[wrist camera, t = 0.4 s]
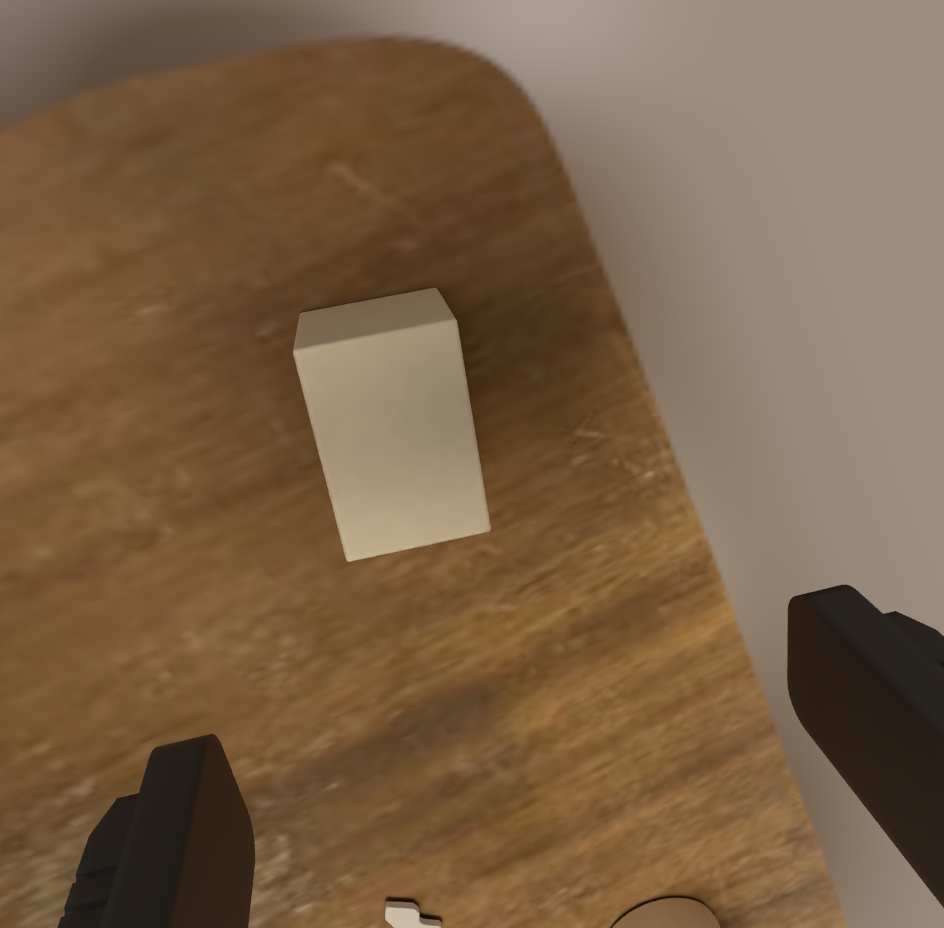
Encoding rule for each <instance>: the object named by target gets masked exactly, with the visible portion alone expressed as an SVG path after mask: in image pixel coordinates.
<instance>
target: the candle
mask: <svg viewBox="0 0 944 928" xmlns="http://www.w3.org/2000/svg"><path fill="white" fill-rule="evenodd" d="M613 928H721V927H720V925H719V923H718V921H717V920H716V918H715V916H714V915H713V913H712V912H711V911H710V910H709V908H707V907H706V906H705V905H703V904H702V903H700V902H698V901H695V900H691V899H686V898H667V899H661V900H657V901H653V902H650V903H647V904H645V905H642V906H640V907H638V908H636V909H634V910H633V911H631V912H629V913H628V914H627V915H625V916H624V917H623V918H621V919H620V920H619V921H618V922H617V923H616V924H615V925H614V926H613Z"/></svg>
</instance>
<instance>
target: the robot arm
mask: <svg viewBox="0 0 944 928" xmlns="http://www.w3.org/2000/svg"><path fill="white" fill-rule="evenodd" d="M787 677H788V678H787V680H788V690H789V695H790V698H791V702H792V705H793V708H794V710H795V712H796V715H797V717H798V718H799V720H800V722H801V724H802V725H803V727H804V728H805V730H806V731H807V732H808V733H809V735H810V736H811V737H812V739H813V740H814V741H815V743H816V744H817V745H818V746H819V748H820V749H821V750H822V752H823V753H824V754H825V755H826V757H827V758H828V759H829V761H830V762H831V763H832V764H833V766H834V767H835V768H836V770H837V771H838V772H839V773H840V775H841V776H842V777H843V779H844V780H845V781H846V782H847V784H848V785H849V786H850V788H851V789H852V790H853V792H854V793H855V794H856V795H857V797H858V798H859V799H860V801H861V802H862V803H863V804H864V806H865V807H866V808H867V810H868V811H869V812H870V813H871V815H872V816H873V817H874V819H875V820H876V821H877V822H878V824H879V825H880V826H881V828H882V829H883V830H884V831H885V833H886V834H887V835H888V837H889V838H890V839H891V841H892V842H893V843H894V844H895V846H896V847H897V848H898V849H899V851H900V852H901V853H902V854H903V856H904V857H905V859H906V860H907V861H908V862H909V864H910V865H911V866H912V868H913V869H914V870H915V871H916V873H917V874H918V875H919V877H920V878H921V879H922V881H923V882H924V883H925V884H926V886H927V887H928V888H929V890H930V891H931V892H932V893H933V895H934V896H935V897H936V899H937V900H938V901H939V902H940V904H941V905H942V906H943V907H944V636H943V635H942V634H940V633H939V632H938V631H937V630H935V629H933V628H931V627H929V626H927V625H925V624H923V623H920V622H918V621H916V620H914V619H912V618H909V617H907V616H905V615H903V614H901V613H899V612H896V611H894V612H890V613H886V614H883V613H881V612H880V611H879V610H878V609H877V608H876V607H874V605H873V604H871V603H870V602H869V601H868V600H867V599H866V598H865V597H864V596H862V595H861V594H860V593H859V592H858V591H857V590H856V589H854V588H853V587H851V586H849V585H840V586H835V587H831V588H827V589H823V590H819V591H815V592H810V593H806V594H802V595H798V596H795V597H793V598H792V599H791V600H790V602H789V605H788V670H787ZM254 867H255V844H254V835H253V829H252V824H251V820H250V816H249V814H248V811H247V808H246V806H245V803H244V801H243V798H242V796H241V793H240V790H239V788H238V785H237V783H236V780H235V778H234V775H233V773H232V770H231V768H230V765H229V763H228V760H227V757H226V755H225V752H224V750H223V747H222V745H221V743H220V741H219V739H218V738H217V736H216V735H214V734H209V735H205V736H201V737H196V738H192V739H188V740H184V741H180V742H176V743H171V744H167V745H163V746H159V747H156V748H155V749H154V750H153V751H152V753H151V755H150V758H149V761H148V764H147V768H146V771H145V774H144V778H143V781H142V785H141V788H140V792H139V793H138V794H134V795H129V796H125V797H121V798H117V799H116V801H115V802H114V803H113V805H112V806H111V807H110V809H109V810H108V811H107V813H106V814H105V816H104V817H103V818H102V820H101V821H100V822H99V824H98V825H97V826H96V828H95V829H94V830H93V832H92V833H91V834H90V836H89V838H88V841H87V844H86V847H85V850H84V853H83V855H82V858H81V861H80V864H79V867H78V870H77V873H76V883H73V884H72V887H71V890H70V893H69V896H68V899H67V902H66V905H65V908H64V909H65V916H64V917H61V919H60V922H59V925H58V928H248V923H249V913H250V904H251V895H252V886H253V876H254Z"/></svg>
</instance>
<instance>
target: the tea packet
mask: <svg viewBox="0 0 944 928" xmlns="http://www.w3.org/2000/svg"><path fill="white" fill-rule="evenodd" d="M293 355H294V359H295V363H296V367H297V371H298V374H299V378H300V382H301V386H302V390H303V394H304V398H305V402H306V405H307V409H308V413H309V417H310V421H311V425H312V429H313V433H314V437H315V440H316V444H317V448H318V452H319V456H320V460H321V464H322V468H323V472H324V475H325V479H326V483H327V487H328V491H329V495H330V499H331V503H332V507H333V510H334V514H335V518H336V522H337V526H338V530H339V534H340V538H341V542H342V545H343V549H344V553H345V557H346V560H347V561H349V562H350V561H355V560H360V559H364V558H369V557H374V556H378V555H383V554H388V553H392V552H397V551H402V550H406V549H411V548H416V547H420V546H425V545H429V544H434V543H439V542H443V541H448V540H453V539H457V538H462V537H467V536H471V535H476V534H481V533H485V532H489V531H490V529H491V526H490V520H489V514H488V508H487V502H486V496H485V490H484V483H483V477H482V471H481V465H480V459H479V453H478V447H477V441H476V434H475V428H474V422H473V416H472V410H471V404H470V398H469V391H468V385H467V379H466V373H465V367H464V361H463V355H462V348H461V342H460V336H459V330H458V324H457V320H456V319H455V317H454V315H453V314H452V312H451V310H450V309H449V307H448V305H447V304H446V302H445V300H444V299H443V297H442V296H441V294H440V292H439V291H438V289H437V288H430V289H424V290H419V291H414V292H408V293H403V294H398V295H392V296H387V297H382V298H376V299H371V300H366V301H360V302H355V303H350V304H345V305H339V306H334V307H329V308H323V309H318V310H313V311H307V312H302V313H300V315H299V321H298V326H297V332H296V338H295V344H294V349H293Z"/></svg>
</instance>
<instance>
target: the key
mask: <svg viewBox="0 0 944 928" xmlns="http://www.w3.org/2000/svg"><path fill="white" fill-rule="evenodd" d="M419 915H420V912H419V907H418V906H417V905H416V904H414V903H409V902H390V901H386V904H385V918H386V920H387V921H388V922H389V923H390V924H391V925H392V926H393V927H394V928H443V924H442V923H441V922H440V921H439V920H431V919H424V918H421V917H420V916H419Z"/></svg>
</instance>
